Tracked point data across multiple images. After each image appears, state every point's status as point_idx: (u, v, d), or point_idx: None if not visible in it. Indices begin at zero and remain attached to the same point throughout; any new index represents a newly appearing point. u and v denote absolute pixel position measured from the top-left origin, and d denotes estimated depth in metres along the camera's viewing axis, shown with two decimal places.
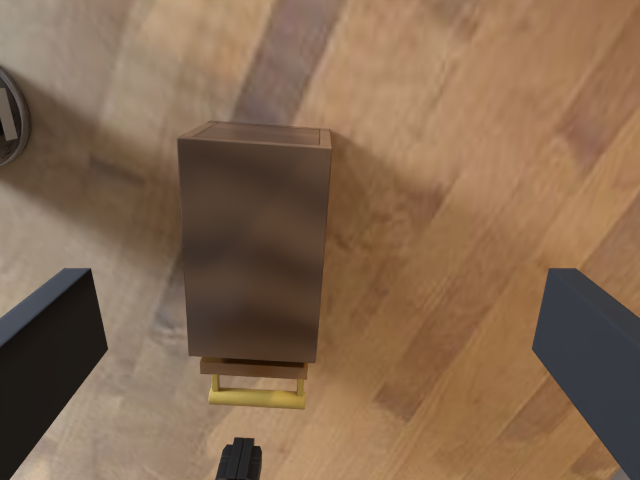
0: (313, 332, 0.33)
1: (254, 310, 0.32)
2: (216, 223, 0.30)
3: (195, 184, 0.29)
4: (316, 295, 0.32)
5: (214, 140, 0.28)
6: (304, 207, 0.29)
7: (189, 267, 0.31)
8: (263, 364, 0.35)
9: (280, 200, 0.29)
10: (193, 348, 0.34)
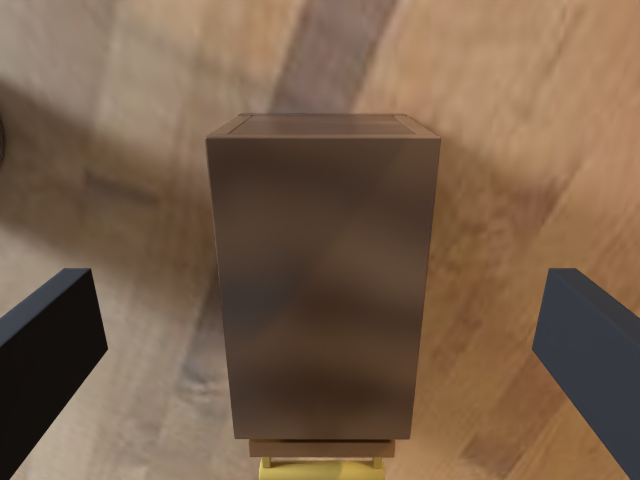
0: (407, 400, 0.23)
1: (324, 376, 0.23)
2: (268, 259, 0.20)
3: (235, 205, 0.19)
4: (413, 350, 0.22)
5: (261, 137, 0.18)
6: (397, 228, 0.20)
7: (230, 323, 0.22)
8: (334, 441, 0.26)
9: (361, 219, 0.20)
10: (240, 429, 0.24)
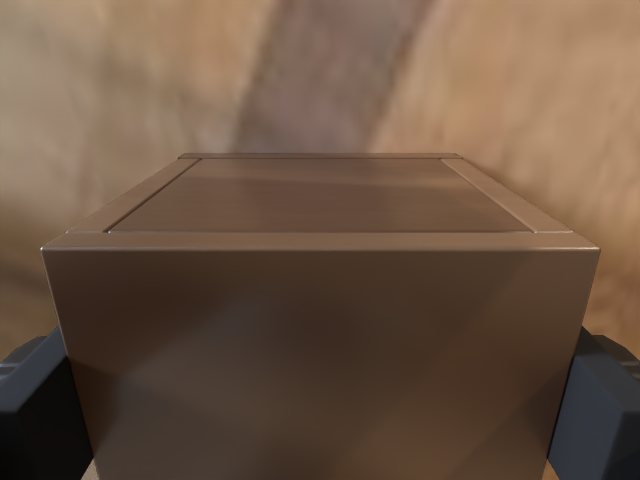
0: None
1: None
2: None
3: (126, 385, 0.09)
4: None
5: (174, 247, 0.08)
6: (482, 427, 0.09)
7: None
8: None
9: (405, 412, 0.09)
10: None
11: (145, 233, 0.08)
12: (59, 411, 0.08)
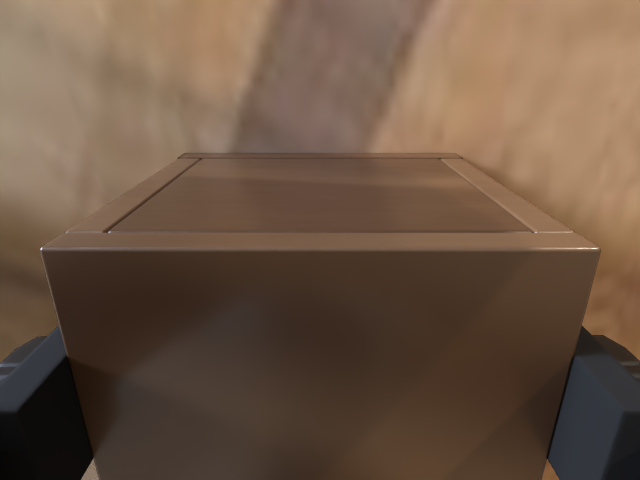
0: None
1: None
2: None
3: (126, 385, 0.09)
4: None
5: (174, 247, 0.08)
6: (482, 427, 0.09)
7: None
8: None
9: (405, 412, 0.09)
10: None
11: (145, 233, 0.08)
12: (59, 411, 0.08)
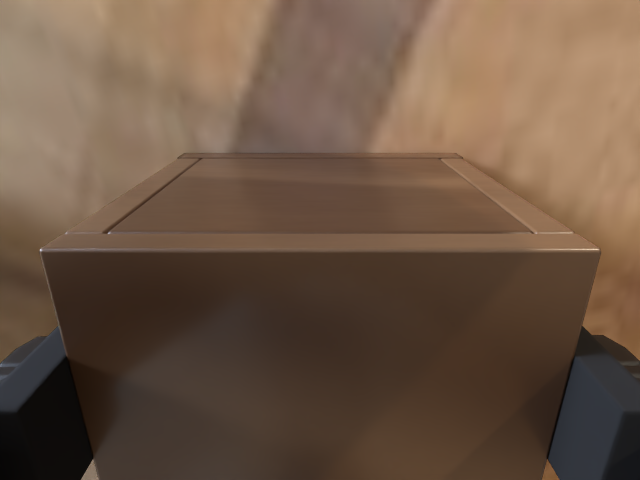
0: None
1: None
2: None
3: (126, 386, 0.09)
4: None
5: (174, 248, 0.08)
6: (482, 428, 0.09)
7: None
8: None
9: (404, 413, 0.09)
10: None
11: (144, 234, 0.08)
12: (59, 411, 0.08)
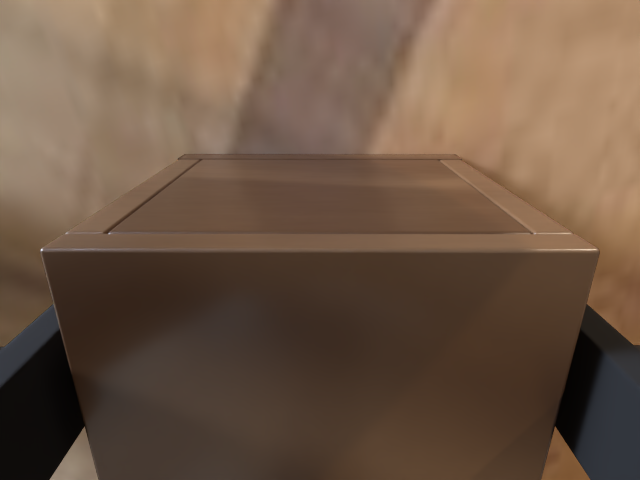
0: None
1: None
2: None
3: (126, 386, 0.09)
4: None
5: (174, 248, 0.08)
6: (481, 428, 0.09)
7: None
8: None
9: (404, 413, 0.09)
10: None
11: (145, 234, 0.08)
12: (10, 427, 0.08)
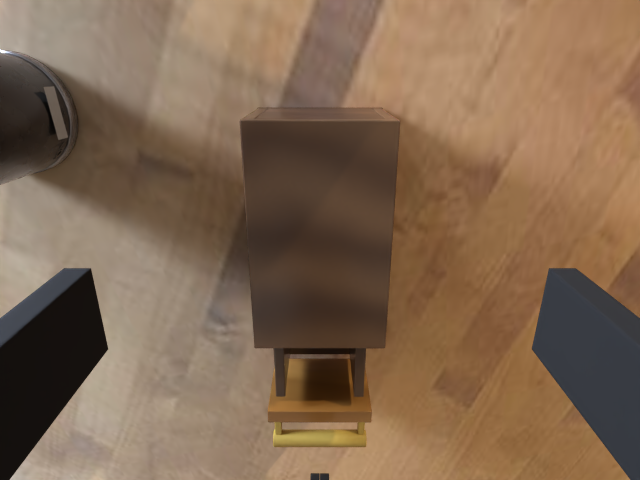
0: (382, 316, 0.32)
1: (321, 297, 0.31)
2: (281, 207, 0.29)
3: (259, 168, 0.28)
4: (385, 277, 0.31)
5: (278, 120, 0.27)
6: (372, 184, 0.28)
7: (254, 256, 0.30)
8: (328, 410, 0.36)
9: (346, 178, 0.28)
10: (259, 340, 0.33)
11: (267, 118, 0.27)
12: None
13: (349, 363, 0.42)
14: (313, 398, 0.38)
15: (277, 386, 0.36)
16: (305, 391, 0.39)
